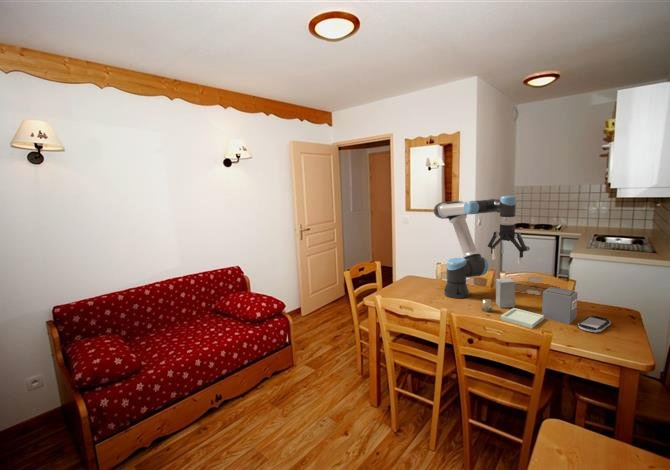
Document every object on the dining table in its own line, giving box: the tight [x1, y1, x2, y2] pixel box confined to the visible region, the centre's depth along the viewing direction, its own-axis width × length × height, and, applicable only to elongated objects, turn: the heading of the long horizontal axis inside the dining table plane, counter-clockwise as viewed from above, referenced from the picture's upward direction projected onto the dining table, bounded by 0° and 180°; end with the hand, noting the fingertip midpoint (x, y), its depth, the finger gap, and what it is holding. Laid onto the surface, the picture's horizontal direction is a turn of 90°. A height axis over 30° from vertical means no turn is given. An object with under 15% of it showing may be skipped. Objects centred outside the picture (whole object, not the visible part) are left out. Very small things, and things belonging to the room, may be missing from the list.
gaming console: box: [577, 315, 612, 334], centre depth 153 cm, size 19×9×2 cm, turn 123°
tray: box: [500, 307, 545, 329], centre depth 165 cm, size 15×15×2 cm
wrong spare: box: [481, 298, 493, 313], centre depth 178 cm, size 5×5×6 cm
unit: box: [541, 286, 578, 325], centre depth 162 cm, size 12×10×15 cm
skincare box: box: [495, 277, 516, 309], centre depth 182 cm, size 8×7×16 cm
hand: (506, 261), depth 179 cm, fingers open, 13 cm apart
